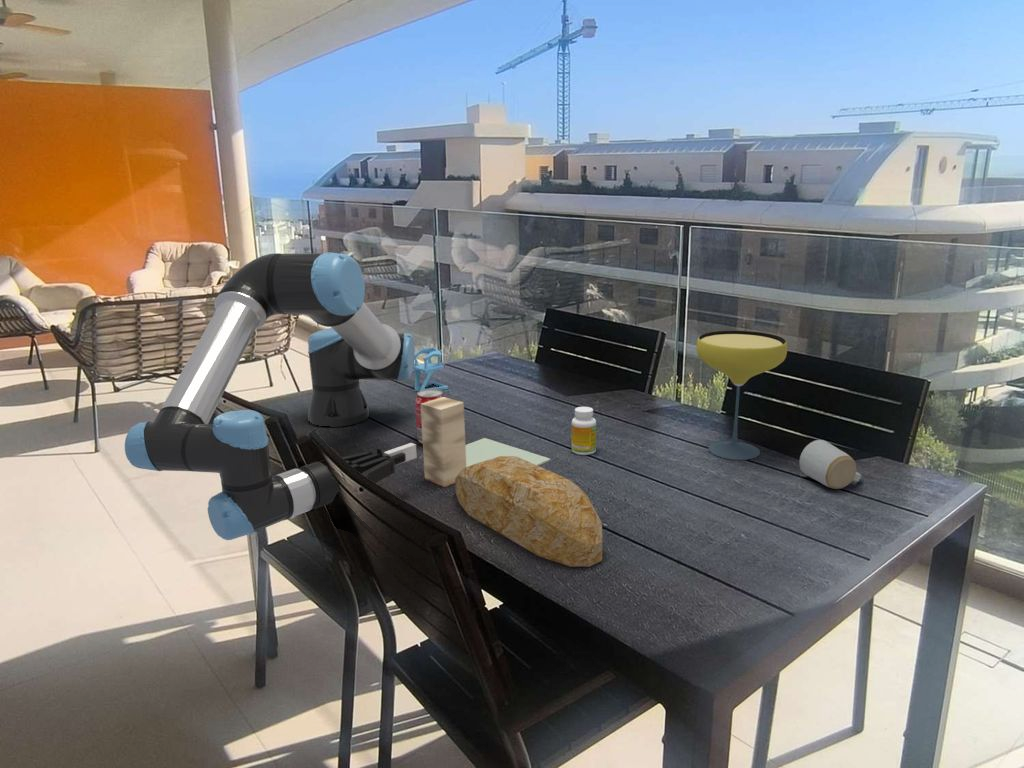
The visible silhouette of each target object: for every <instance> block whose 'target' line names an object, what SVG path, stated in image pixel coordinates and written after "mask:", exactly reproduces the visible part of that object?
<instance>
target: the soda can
mask: <svg viewBox="0 0 1024 768" xmlns="http://www.w3.org/2000/svg"><path fill="white" fill-rule="evenodd" d="M425 389H426V390H421V391H417V396H416V398H415V401H414V410H415V411H414V412H415V427H416V437H417V441H418V442H419V443H420V444H422V445H423V438H422V421H421V404H422V403H425V402H428V401H431V400H435V399H438V398H441V397H445V396H444V395H443V390H438V389H427V388H425Z"/></svg>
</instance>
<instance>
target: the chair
mask: <svg viewBox="0 0 1024 768" xmlns="http://www.w3.org/2000/svg"><path fill="white" fill-rule="evenodd" d="M421 354H426V356H424V357H423V361H424V363H421V364H419V362H418V359H417V357H418V356H419V355H421ZM442 354H443V353H442V352H441V351H440V350H439V349H437V348H435V347H429V348H428V347H427V348H422V349H419V350H417V352H415V358H414V367H413V371H414V376H415V377H414V392H415V391H417V392H419V391H421V390H426V389H438V390H441V391H445V390H448V389H449V386H448V385H445V384H442V383H440V382H436V381H430V378H431V377H432V375H433V374H434V373H435V372H437V371H439V370H442V369H444V368H445V366H444V365H443V364H442V363H441V359H442ZM433 357H436V358H437V362H436V363H435V362H432V358H433ZM421 373H425V377H424V380H423V382H422V384H421V385H420V377H421ZM431 384H434V385H433V386H434V387H430V386H432V385H431ZM429 385H430V386H429ZM435 385H436V386H435ZM438 386H439V387H438ZM425 387H426V388H425Z"/></svg>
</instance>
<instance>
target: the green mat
mask: <svg viewBox="0 0 1024 768" xmlns="http://www.w3.org/2000/svg"><path fill="white" fill-rule="evenodd" d="M465 446H466V467H469V466H471V465H474V464H477V463H480V462H483V461H486V460H489V459H493V458H496V457H499V456H517V457H519V458H521V459H524V460H526V461H528V462H530V463H533V464H535V465H537V466H542V465H544V464H546V463H549V462H550V461H551V458H549V457H547V456H543V455H540V454H536V453H534V452H530V451H528V450H524V449H520V448H518V447H515V446H511V445H508V444H506V443H502V442H499V441H496V440H492V439H489V438H486V437H483V438H481V439H478V440H475V441H473V442H470V443H467V444H465Z"/></svg>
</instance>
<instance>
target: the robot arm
mask: <svg viewBox="0 0 1024 768" xmlns="http://www.w3.org/2000/svg"><path fill="white" fill-rule="evenodd" d="M362 274H363V271H362V268H361V266H360V265H359V263H358V262H357V260H356V259H355V258H354V257H352V256H351V255H349V254H346V253H345V254H344V253H337V252H328V251H327V252H324V253H267V254H265V255H260V256H258V257H257V258H254V259H253V260H251V261H250V262H248V263H246V264H245V265H243V266H242V267H241V268H240V269H238V270H237V271H236V272H235V273H234V274H233V275H232V276H231V277H230V278H229V279H228V280H227V281H226V283H225V284H224V285H223V286H222V288H221V290H220V291H219V292H218V294H217V295H216V297H215V299H214V309H215V312H214V313H213V315H212V317H211V319H210V321H209V322H208V324H207V325H206V328H205V329H204V331H203V333H202V335H201V337H200V339H199V340H198V342H197V344H196V345H195V347H194V349H193V351H192V353H190V354H191V355H190V356H189V358H188V359H187V361H186V364H185V365H184V367H183V369H182V371H181V372H180V374H179V376H178V378H177V379H176V381H175V383H174V384H173V386H172V388H171V390H170V392H169V393H168V395H167V396H166V397H167V398H166V399H165V401H164V402H163V404H162V406H161V408H160V410H159V411H158V413H157V414H156V416H155V417H154V420H153V421H144V422H137V423H136V424H135V425H133V426H132V427H131V428H130V429H129V430H128V431H127V434H126V437H125V440H124V453H125V456H126V459H127V460H128V462H129V463H130V465H132V466H133V467H135V468H136V469H141V470H149V471H156V472H162V471H166V472H167V471H169V472H172V471H173V472H195V473H197V472H199V473H211V474H213V473H215V474H217V473H218V474H219V477H220V483H221V491H220V492H218V493H216V494H215V495H213V496H211V498H209V500H208V503H207V505H208V507H207V515H208V519H209V522H210V525H211V528H212V529H213V531H214V532H215V533H216V535H217V536H218V537H220V538H221V539H223V540H225V541H232V540H235V539H238V538H241V537H245V536H248V535H253V534H254V533H255V532H258V531H260V530H263V529H265V528H269V527H270V526H273V525H276V524H278V523H280V522H283V521H287V520H289V519H291V520H292V519H295V518H296V517H297V516H299V515H302V514H305V513H306V512H309V511H311V510H316V509H319V508H321V507H325V506H326V505H329V504H331V503H333V501H334V499H335V498H336V495H337V494H338V493H339V492H342V491H341V488H340V486H339V483H338V482H337V480H336V479H335V478H334V477H333V476H332V473H331V472H330V470H329V469H328V467H327V466H326V465H324V464H323V463H321V461H315V462H312V463H309V464H305V465H303V466H300V467H299V468H293V469H290V470H287V471H283V472H281V473H277V474H275V475H273V476H272V467H271V460H270V450H269V436H268V434H267V428H266V423H265V418H264V417H263V415H262V414H261V413H260V412H258V411H256V410H252V409H240V410H230V411H225V412H223V413H221V414H219V415H217V416H215V418H214V419H213V421H212V424H211V423H210V421H211V419H212V416H213V414H214V412H215V410H216V409H217V406H219V405H218V404H219V403H220V401H221V398H222V397H223V395H224V392H225V391H226V389H227V387H228V385H229V383H230V381H231V379H232V377H233V375H234V374H235V371H236V369H237V368H238V365H239V363H240V361H241V359H242V357H243V355H244V353H245V352H246V349H247V347H248V345H249V343H250V342H251V341H250V340H251V339H252V337H253V335H254V333H255V331H256V330H259V329H261V328H263V326H265V324H266V322H267V319H269V317H271V316H275V315H300V316H301V315H302V316H303V315H305V316H308V317H309V318H310V319H311V320H312V321H313V322H314V323H316V324H318V325H320V326H323V327H326V328H325V329H321V330H318V331H315V332H313V333H312V334H310V336H308V340H307V342H308V343H307V347H308V350H307V354H308V359H309V367H310V370H309V371H310V375H311V376H310V378H311V387H312V392H311V398H310V401H309V406H308V410H307V418H308V422H309V421H310V422H311V423H313V424H315V425H314V426H316V425H320V426H319V427H321V426H330V427H329V428H339V427H346V426H353V425H355V424H359V423H361V422H364V421H366V420H367V419H368V418H369V416H370V412H369V406H368V402H367V401H366V398H365V396H364V394H363V391H362V389H361V386H360V381H361V380H363V381H365V380H366V381H369V380H370V381H395V382H399V381H407V380H409V379H411V376H412V375H413V371H414V369H413V367H414V365H415V360H414V358H415V353H416V352H415V349H416V347H415V339H414V336H413V335H412V334H411V333H406V332H402V333H399V332H397V331H396V330H395V329H394V328H393V327H392V326H390V325H388V324H385V323H381V321H380V320H379V319H378V318H377V317H376V315H375V314H374V313H373V312H372V311H371V310H370V308H369V306H367V305H366V303H365V302H364V300H365V294H366V284H365V277H364V276H362ZM311 423H310V424H311ZM313 424H312V425H313ZM417 457H418V456H417V444H416V443H413V442H409V443H406V444H404V445H400V446H398V447H395V448H392V449H389V450H386V451H384V452H383V449H382V448H378V447H377V448H376V452H374V451H373V450H368V451H364V452H359V453H355V454H350V455H346V456H342V457H340V458H342V459H344V460H345V461H346V462H347V463H348V464H349V465H350V466H352V467H353V468H354V469H356V470H357V471H358V472H360V473H361V474H362V475H363V476H365V477H366V478H367V479H369V480H371V481H373V482H374V483H375V484H376V483H379V482H380V481H382V480H384V479H385V478H387V477H389V476H391V475H392V474H395V471H396V470H395V469H396V468H395V466H398V465H400V464H404V463H406V462H409V461H412V460H415V459H417Z"/></svg>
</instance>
